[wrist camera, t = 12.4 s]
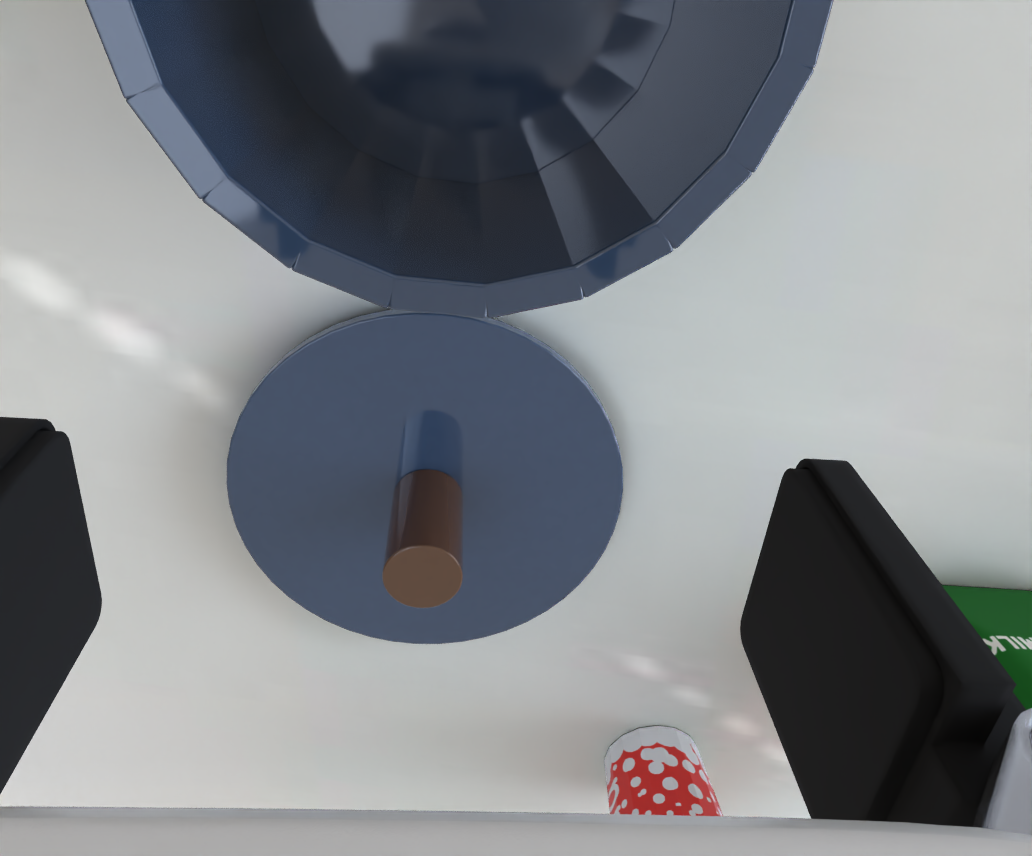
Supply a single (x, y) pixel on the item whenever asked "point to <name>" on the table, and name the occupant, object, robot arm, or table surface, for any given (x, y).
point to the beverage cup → (658, 775)
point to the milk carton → (1002, 629)
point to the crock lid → (424, 476)
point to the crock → (463, 131)
